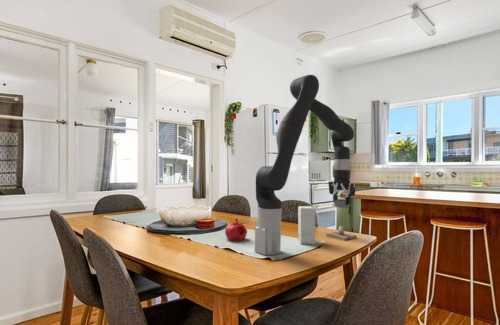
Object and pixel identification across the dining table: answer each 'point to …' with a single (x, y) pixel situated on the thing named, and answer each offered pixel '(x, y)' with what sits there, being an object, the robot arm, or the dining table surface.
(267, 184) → the robot arm
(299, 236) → the skincare box
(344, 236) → the piston stand
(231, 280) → the dining table surface
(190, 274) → the dining table surface
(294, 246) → the dining table surface
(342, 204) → the steel ring
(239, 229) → the pomegranate
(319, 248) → the dining table surface
